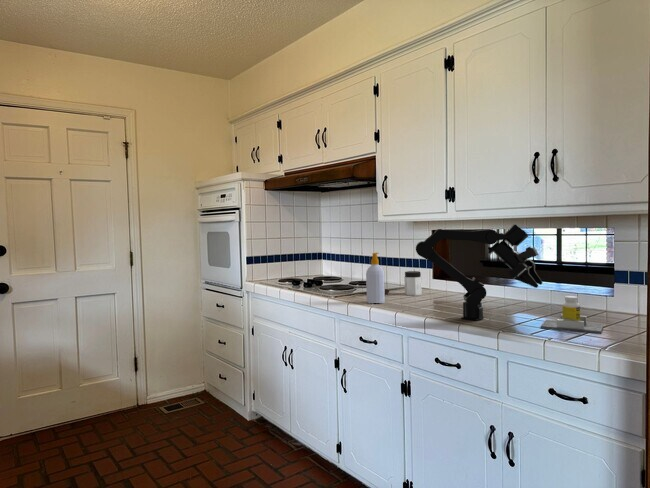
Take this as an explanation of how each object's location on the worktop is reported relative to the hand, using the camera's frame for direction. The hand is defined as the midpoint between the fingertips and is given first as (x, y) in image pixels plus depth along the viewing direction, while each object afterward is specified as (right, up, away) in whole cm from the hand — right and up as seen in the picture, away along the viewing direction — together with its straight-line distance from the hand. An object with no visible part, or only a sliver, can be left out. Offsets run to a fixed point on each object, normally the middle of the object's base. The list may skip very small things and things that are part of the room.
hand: (539, 285), depth 171 cm
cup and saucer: (-50, -12, +81) cm, 96 cm away
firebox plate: (+7, -14, -9) cm, 18 cm away
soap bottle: (-54, -13, +53) cm, 77 cm away
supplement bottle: (+7, -13, -9) cm, 17 cm away
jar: (-32, -12, +75) cm, 82 cm away
